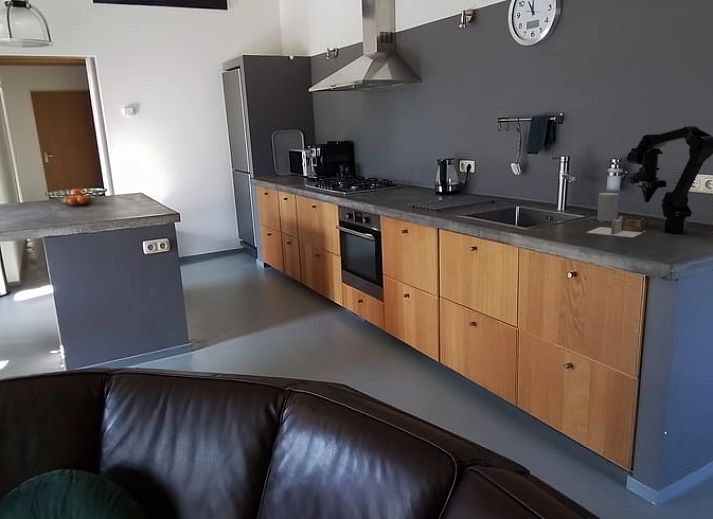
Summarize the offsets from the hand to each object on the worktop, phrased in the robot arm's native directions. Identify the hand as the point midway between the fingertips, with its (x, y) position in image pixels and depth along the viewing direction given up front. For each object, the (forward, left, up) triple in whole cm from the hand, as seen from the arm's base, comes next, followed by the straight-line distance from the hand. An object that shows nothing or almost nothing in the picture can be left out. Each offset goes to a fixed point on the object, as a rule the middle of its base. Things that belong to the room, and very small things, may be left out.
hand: (646, 202), depth 230 cm
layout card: (+5, +20, -10) cm, 23 cm away
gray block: (+18, -6, -10) cm, 22 cm away
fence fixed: (0, +16, -10) cm, 19 cm away
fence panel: (+4, +21, -10) cm, 24 cm away
